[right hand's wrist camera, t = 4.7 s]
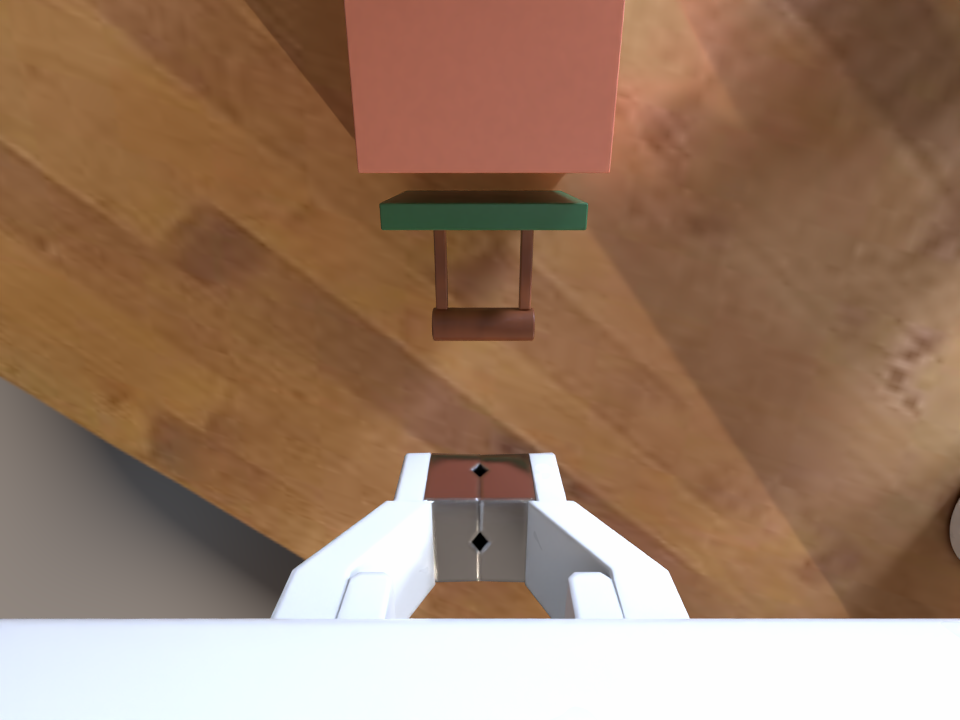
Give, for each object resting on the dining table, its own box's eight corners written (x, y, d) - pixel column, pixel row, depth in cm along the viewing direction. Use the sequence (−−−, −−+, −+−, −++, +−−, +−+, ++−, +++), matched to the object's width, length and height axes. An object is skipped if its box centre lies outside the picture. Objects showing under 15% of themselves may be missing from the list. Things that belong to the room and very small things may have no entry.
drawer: (554, 308, 34) (577, 356, 26) (411, 308, 34) (389, 356, 26) (582, -177, 25) (629, -334, 17) (386, -177, 25) (341, -332, 17)
